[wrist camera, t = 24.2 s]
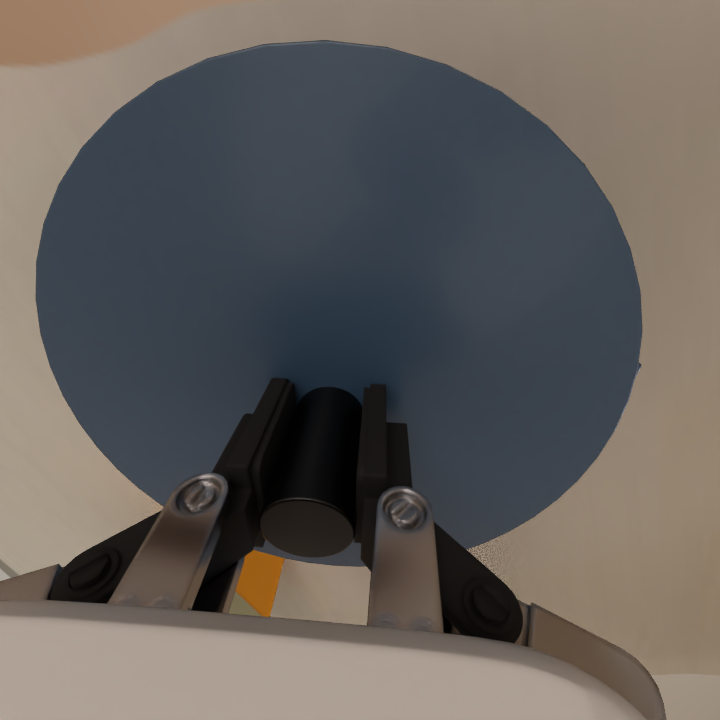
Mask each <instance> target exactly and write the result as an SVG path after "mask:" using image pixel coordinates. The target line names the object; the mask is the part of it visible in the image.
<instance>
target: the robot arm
mask: <svg viewBox="0 0 720 720" xmlns="http://www.w3.org/2000/svg"><path fill="white" fill-rule="evenodd" d="M296 410H297V406H296V394H295V385H294V383H290V381H289V379H286V378H272V379H271V380H270V382H269V384H268V386H267V388H266V390H265V392H264V394H263V396H262V398H261V399H260V401H259V403H258V405H257V407H256V409H255V411H254V413H253V414H250V413H246V414H244V415H243V417H242V418H241V420H240V422H239V424H238V426H237V427H236V429H235V431H234V433H233V435H232V436H231V438H230V440H229V442H228V444H227V445H226V447H225V449H224V451H223V453H222V454H221V456H220V458H219V460H218V462H217V463H216V465H215V467H214V469H213V471H212V472H207V473H200V474H197V475H194V476H191V477H189V478H188V479H186V480H184V481H183V482H182V483H180V484H179V485H178V486H177V487H176V488H175V490H174V491H173V492H172V494H171V495H170V497H169V499H168V500H167V502H166V504H165V506H164V507H163V509H162V510H161V511H159V512H158V513H156V514H154V515H152V516H150V517H148V518H146V519H144V520H142V521H141V522H139V523H137V524H135V525H133V526H131V527H129V528H127V529H125V530H124V531H122V532H120V533H118V534H116V535H114V536H112V537H110V538H108V539H107V540H105V541H103V542H101V543H99V544H97V545H95V546H93V547H91V548H90V549H88V550H86V551H84V552H83V553H81V554H80V555H78V556H77V557H75V558H74V559H73V560H72V561H71V562H70V563H69V564H67V565H66V566H65V567H61V566H60V565H59V564H57V565H53V566H50V567H46V568H43V569H40V570H36V571H33V572H30V573H26V574H23V575H20V576H16V577H13V578H10V579H6V580H3V581H0V720H666V715H665V709H664V703H663V700H662V697H661V694H660V691H659V688H658V686H657V684H656V683H655V681H654V680H653V678H652V677H651V675H650V673H649V672H648V671H647V670H646V668H645V667H644V666H643V665H642V664H641V663H640V662H639V661H638V660H637V659H636V658H635V657H633V656H632V655H630V654H629V653H627V652H626V651H625V650H623V649H622V648H620V647H618V646H616V645H614V644H612V643H610V642H608V641H606V640H604V639H602V638H600V637H598V636H596V635H594V634H592V633H590V632H588V631H586V630H585V629H583V628H581V627H579V626H577V625H575V624H573V623H571V622H569V621H567V620H565V619H563V618H561V617H559V616H557V615H555V614H553V613H551V612H550V611H548V610H546V609H544V608H542V607H540V606H538V605H536V604H534V603H531V605H530V606H529V605H527V604H525V603H523V602H521V601H519V600H517V599H516V597H515V595H514V594H513V592H512V591H511V590H510V589H509V588H508V587H507V585H506V584H505V583H504V582H502V581H501V580H500V579H499V578H498V577H497V576H496V575H494V574H493V573H492V572H491V571H490V570H489V569H488V568H486V567H485V566H484V565H483V564H482V563H481V562H480V561H478V560H477V559H476V558H475V557H474V556H473V555H472V554H471V553H469V552H468V551H467V550H466V549H465V548H464V547H463V546H461V545H460V544H459V543H458V542H457V541H456V540H455V539H453V538H452V537H451V536H450V535H449V534H448V533H447V532H445V531H444V530H443V529H442V528H441V527H440V526H439V525H437V524H436V523H435V522H434V519H433V511H432V507H431V504H430V502H429V501H428V499H427V498H426V497H425V496H424V495H423V494H422V493H421V492H420V491H418V490H416V489H414V488H413V487H412V475H411V464H410V453H409V442H408V431H407V424H406V423H392V422H386V384H371V385H370V388H368V387H364V395H363V407H362V418H361V430H360V441H359V453H358V464H357V479H356V504H355V508H356V513H357V518H356V531H355V537H354V543H361V556H360V559H361V560H362V561H363V563H364V564H365V565H366V566H367V567H368V569H369V570H370V571H371V580H370V593H369V606H368V620H367V626H364V625H353V624H342V623H331V622H320V621H309V620H297V619H285V618H274V617H262V616H251V615H239V614H229V611H230V607H231V604H232V601H233V597H234V594H235V591H236V587H237V584H238V581H239V577H240V574H241V571H242V567H243V564H244V559H245V556H246V555H247V554H249V553H250V552H252V551H253V549H254V547H263V546H264V543H265V540H266V539H265V538H264V537H263V535H262V534H261V532H260V529H259V523H258V520H259V515H260V512H261V510H262V507H263V504H264V501H265V498H266V495H267V492H268V490H269V487H270V484H271V481H272V478H273V475H274V473H275V470H276V467H277V464H278V461H279V458H280V455H281V453H282V450H283V447H284V444H285V441H286V438H287V435H288V433H289V430H290V427H291V424H292V421H293V418H294V416H295V413H296Z"/></svg>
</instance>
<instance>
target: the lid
mask: <svg viewBox="0 0 720 720" xmlns="http://www.w3.org/2000/svg"><path fill="white" fill-rule="evenodd" d="M36 305H37V312H38V319H39V326H40V333H41V337H42V340H43V344H44V347H45V351H46V354H47V358H48V361H49V364H50V367H51V370H52V372H53V374H54V376H55V379H56V381H57V383H58V386H59V388H60V390H61V392H62V395H63V397H64V398H65V400H66V402H67V403H68V405H69V407H70V408H71V410H72V412H73V414H74V415H75V417H76V419H77V420H78V422H79V424H80V425H81V426H82V428H83V429H84V430H85V432H86V433H87V434H88V436H89V437H90V438H91V440H92V441H93V442H94V443H95V445H96V446H97V447H98V449H99V450H100V451H101V452H102V453H103V454H104V455H105V456H106V457H107V458H108V459H109V460H110V462H111V463H112V464H113V465H114V466H115V467H116V468H117V469H118V470H119V471H120V472H121V473H122V474H123V475H125V476H126V477H127V478H128V479H129V480H130V481H131V482H132V483H134V484H135V485H136V486H137V487H138V488H139V489H140V490H142V491H143V492H144V493H146V494H147V495H148V496H150V497H151V498H152V499H154V500H155V501H156V502H158V503H159V504H160V505H162V506H163V507H164V506H165V504H166V502H167V500H168V499H169V497H170V495H171V494H172V492H173V491H174V490H175V488H176V487H177V486H178V485H179V484H180V483H182V482H183V481H184V480H186V479H188V478H189V477H191V476H194V475H197V474H200V473H207V472H212V471H213V469H214V467H215V465H216V463H217V462H218V460H219V458H220V456H221V454H222V453H223V451H224V449H225V447H226V445H227V444H228V442H229V440H230V438H231V436H232V435H233V433H234V431H235V429H236V427H237V426H238V424H239V422H240V420H241V418H242V417H243V415H244V414H246V413H250V414H253V413H254V411H255V409H256V407H257V405H258V403H259V401H260V399H261V398H262V396H263V394H264V392H265V390H266V388H267V386H268V384H269V382H270V380H271V379H272V378H286V379H289V381H290V383H294V385H295V394H296V406H297V410H296V413H295V416H294V418H293V421H292V424H291V427H290V430H289V433H288V435H287V438H286V441H285V444H284V447H283V450H282V453H281V455H280V458H279V461H278V464H277V467H276V470H275V473H274V475H273V478H272V481H271V484H270V487H269V490H268V492H267V495H266V498H265V501H264V504H263V507H262V510H261V512H260V515H259V520H258V523H259V529H260V532H261V534H262V535H263V537H264V538H265V539H266V540H265V543H264V546H263V547H254V549H253V550H256V551H259V552H263V553H266V554H270V555H274V556H278V557H282V558H286V559H292V560H297V561H302V562H308V563H316V564H325V565H334V566H357V567H361V566H366V565H365V564H364V563H363V561H362V560H361V559H360V556H361V543H354V537H355V531H356V518H357V513H356V508H355V504H356V479H357V464H358V453H359V441H360V430H361V418H362V407H363V395H364V387H368V388H370V385H371V384H386V422H392V423H406V424H407V431H408V442H409V453H410V464H411V475H412V487H413V488H414V489H416V490H418V491H420V492H421V493H422V494H423V495H424V496H425V497H426V498H427V499H428V501H429V502H430V504H431V507H432V511H433V519H434V522H435V523H436V524H437V525H439V526H440V527H441V528H442V529H443V530H444V531H445V532H447V533H448V534H449V535H450V536H451V537H452V538H453V539H455V540H456V541H457V542H458V543H459V544H460V545H461V546H463V547H464V548H465V549H469V548H472V547H475V546H477V545H480V544H483V543H486V542H488V541H490V540H492V539H494V538H496V537H498V536H501V535H503V534H505V533H507V532H509V531H511V530H513V529H514V528H516V527H518V526H519V525H521V524H523V523H525V522H526V521H528V520H530V519H531V518H533V517H535V516H536V515H537V514H539V513H540V512H541V511H543V510H544V509H545V508H547V507H548V506H549V505H551V504H552V503H553V502H555V501H556V500H557V499H558V498H560V497H561V496H562V495H563V494H564V493H565V492H566V491H567V490H568V489H569V488H570V487H571V486H572V485H574V484H575V483H576V482H577V481H578V480H579V479H580V477H581V476H582V475H583V474H584V473H585V472H586V470H587V469H588V468H589V467H590V466H591V464H592V463H593V462H594V461H595V460H596V459H597V457H598V456H599V454H600V453H601V451H602V450H603V448H604V447H605V445H606V443H607V442H608V440H609V439H610V437H611V436H612V434H613V433H614V431H615V429H616V427H617V425H618V422H619V420H620V418H621V416H622V414H623V412H624V409H625V407H626V405H627V403H628V401H629V397H630V394H631V390H632V387H633V383H634V380H635V376H636V373H637V369H638V364H639V355H640V347H641V338H642V314H641V294H640V288H639V283H638V279H637V275H636V270H635V266H634V262H633V257H632V253H631V249H630V247H629V244H628V242H627V240H626V237H625V235H624V233H623V230H622V228H621V226H620V223H619V221H618V219H617V216H616V214H615V212H614V209H613V207H612V205H611V204H610V202H609V201H608V199H607V198H606V196H605V195H604V193H603V192H602V190H601V189H600V187H599V186H598V184H597V183H596V181H595V180H594V178H593V177H592V175H591V174H590V172H589V171H588V169H587V168H586V166H585V165H584V163H583V162H582V161H581V160H580V159H579V158H578V157H577V156H576V155H575V154H574V153H573V152H572V151H571V150H570V149H569V148H568V147H567V146H566V145H565V144H564V142H563V141H562V140H561V139H560V138H559V137H558V136H557V135H556V134H555V133H554V132H553V131H552V130H551V129H550V128H549V127H548V126H547V125H546V124H545V123H543V122H542V121H541V120H539V119H538V118H536V117H535V116H534V115H532V114H531V113H530V112H528V111H527V110H526V109H524V108H523V107H521V106H520V105H519V104H517V103H516V102H515V101H513V100H512V99H511V98H509V97H508V96H506V95H505V94H504V93H502V92H501V91H499V90H497V89H495V88H493V87H491V86H489V85H487V84H485V83H483V82H481V81H479V80H477V79H475V78H473V77H471V76H469V75H467V74H465V73H463V72H461V71H459V70H457V69H455V68H453V67H451V66H448V65H446V64H443V63H440V62H436V61H433V60H429V59H426V58H423V57H419V56H416V55H412V54H409V53H406V52H402V51H399V50H395V49H392V48H389V47H382V46H373V45H364V44H355V43H346V42H337V41H329V40H320V41H304V42H289V43H273V44H263V45H259V46H255V47H251V48H247V49H243V50H239V51H235V52H231V53H227V54H223V55H219V56H215V57H211V58H207V59H205V60H203V61H201V62H199V63H197V64H194V65H192V66H190V67H188V68H186V69H183V70H181V71H179V72H177V73H175V74H173V75H170V76H168V77H166V78H164V79H162V80H160V81H158V82H156V83H155V84H153V85H152V86H151V87H149V88H148V89H146V90H145V91H144V92H142V93H141V94H139V95H138V96H137V97H135V98H134V99H132V100H131V101H130V102H128V103H127V104H125V105H124V106H123V107H121V108H120V109H119V110H117V111H116V112H115V113H114V114H113V115H112V116H111V117H110V118H109V119H108V120H107V121H106V122H105V123H104V124H103V125H102V127H101V128H100V129H99V130H98V131H97V132H96V133H95V134H94V135H93V136H92V137H91V138H90V139H89V140H88V141H87V143H86V144H85V145H84V146H83V147H82V148H81V150H80V151H79V153H78V155H77V156H76V158H75V159H74V161H73V163H72V164H71V166H70V167H69V169H68V171H67V172H66V174H65V175H64V177H63V179H62V180H61V182H60V183H59V185H58V188H57V190H56V193H55V195H54V198H53V201H52V203H51V206H50V208H49V211H48V213H47V216H46V219H45V221H44V224H43V229H42V235H41V240H40V245H39V250H38V256H37V261H36Z"/></svg>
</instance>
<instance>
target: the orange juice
mask: <svg viewBox="0 0 720 720" xmlns="http://www.w3.org/2000/svg"><path fill="white" fill-rule="evenodd" d="M283 562H284V558H282V557H278V556H274V555H270V554H266V553H263V552H259V551H256V550H253V551H252V552H250V553H249V554H247V555H246V556H245V559H244V564H243V567H242V571H241V574H240V577H239V581H238V584H237V587H236V591H235V594H234V597H233V601H232V604H231V607H230V611H229V614H239V615H251V616H262V617H270V613H271V609H272V605H273V601H274V597H275V593H276V589H277V586H278V582H279V578H280V574H281V570H282V566H283Z"/></svg>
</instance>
